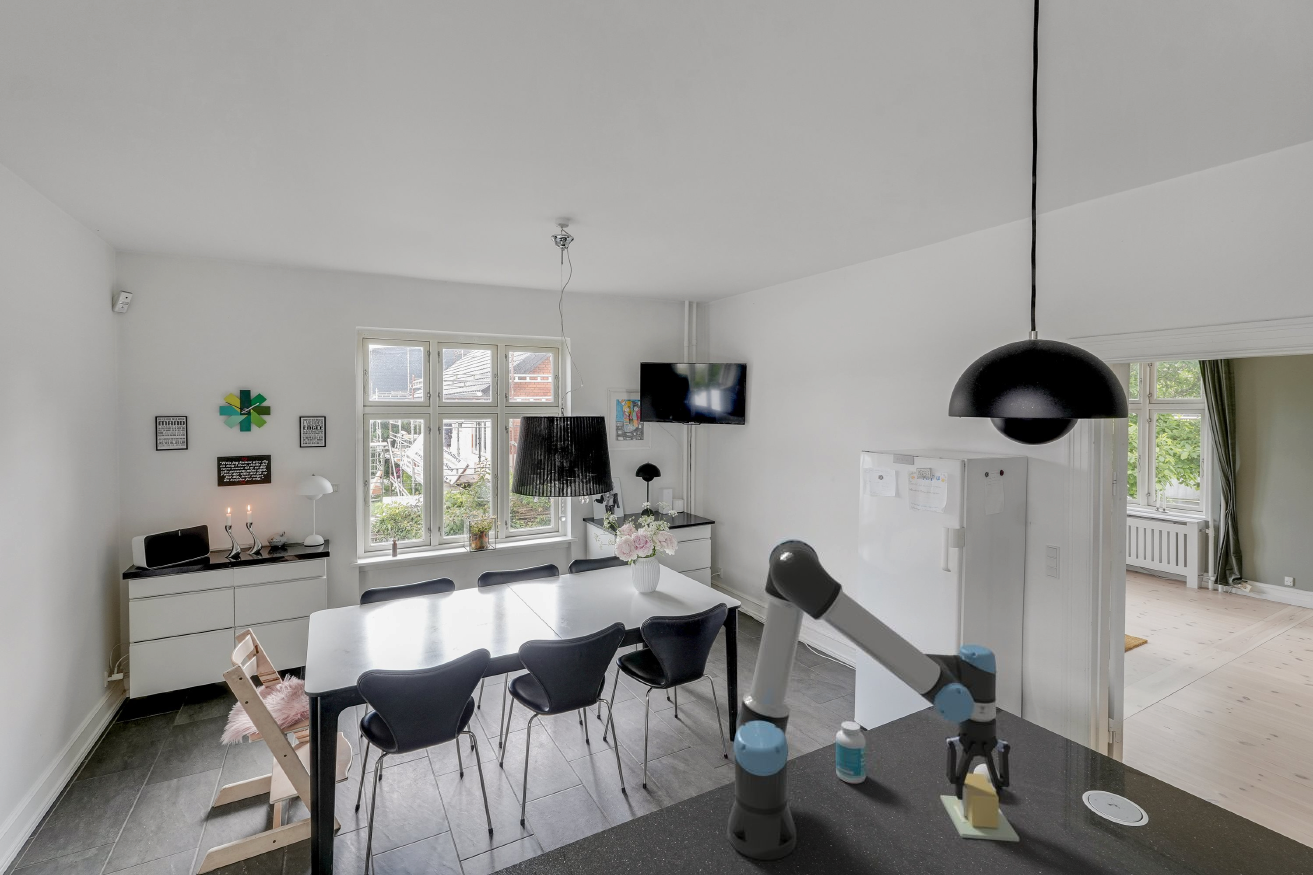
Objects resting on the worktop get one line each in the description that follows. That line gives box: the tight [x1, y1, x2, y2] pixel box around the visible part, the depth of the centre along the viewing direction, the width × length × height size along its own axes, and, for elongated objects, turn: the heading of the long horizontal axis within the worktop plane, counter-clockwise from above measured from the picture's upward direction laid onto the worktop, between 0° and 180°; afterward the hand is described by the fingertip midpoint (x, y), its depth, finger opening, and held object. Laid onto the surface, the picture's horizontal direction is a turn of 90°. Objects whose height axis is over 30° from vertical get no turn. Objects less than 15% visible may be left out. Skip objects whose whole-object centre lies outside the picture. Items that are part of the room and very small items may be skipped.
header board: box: [940, 794, 1020, 842], centre depth 140 cm, size 12×14×5 cm
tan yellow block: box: [958, 772, 1000, 828], centre depth 140 cm, size 6×9×7 cm, turn 172°
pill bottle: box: [835, 720, 867, 784], centre depth 157 cm, size 8×7×14 cm
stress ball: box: [972, 763, 999, 784], centre depth 152 cm, size 8×8×7 cm
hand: (977, 813), depth 140 cm, fingers closed on tan yellow block, 6 cm apart
